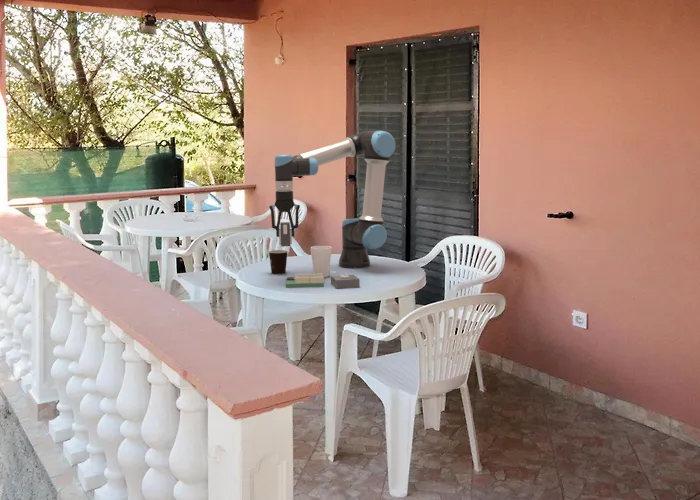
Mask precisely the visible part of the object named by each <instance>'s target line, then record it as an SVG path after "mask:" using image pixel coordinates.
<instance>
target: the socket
mask: <svg viewBox="0 0 700 500" xmlns="http://www.w3.org/2000/svg"><path fill="white" fill-rule="evenodd" d="M294 276H295V277H294V279H295V283H324V284H325V281H324V279H325V277H323V274H314V273H296V274H294Z"/></svg>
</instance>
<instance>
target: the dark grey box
mask: <svg viewBox="0 0 700 500" xmlns="http://www.w3.org/2000/svg"><path fill="white" fill-rule="evenodd" d="M330 285H331V286H332V287H334V288H335V289H336V290H338V289H354V288H360V277H357V276H356V275H355V274H342V275H341V274H339V275H330Z"/></svg>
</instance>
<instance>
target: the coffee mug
mask: <svg viewBox="0 0 700 500" xmlns="http://www.w3.org/2000/svg"><path fill="white" fill-rule="evenodd" d="M268 256H269V257H268V258H269V264H270V270H271V274H272V275H285V274H286V270H287V262H288V261H287V260H288V250H284V249H274V250H273V249H272V250H269V251H268Z"/></svg>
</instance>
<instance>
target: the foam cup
mask: <svg viewBox="0 0 700 500" xmlns="http://www.w3.org/2000/svg"><path fill="white" fill-rule="evenodd" d="M332 252H333V249H332V246H330V245H329V246H328V245H314V246H311V247H310V254H311V260H312V269H313V274H323V277H324V278H326V277H329V275H330V267H331V257H332Z"/></svg>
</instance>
